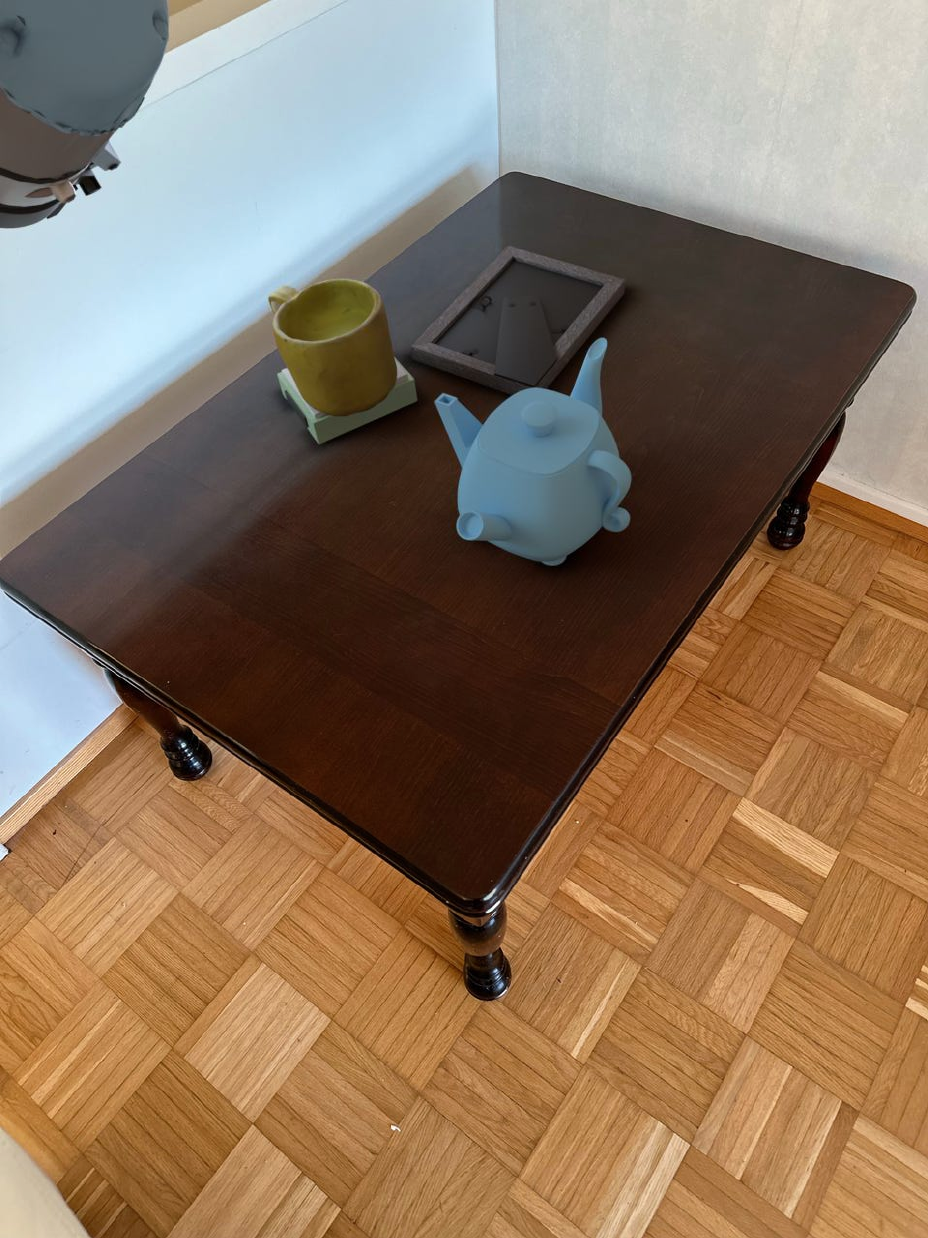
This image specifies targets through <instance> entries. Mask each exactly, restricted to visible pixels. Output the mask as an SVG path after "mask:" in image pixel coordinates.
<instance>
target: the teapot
mask: <svg viewBox="0 0 928 1238" xmlns="http://www.w3.org/2000/svg"><path fill="white" fill-rule="evenodd" d="M607 348H608V340H607V338H605V337H599V338H597V339H596V340H595V341H594V342H593V343H592V344H591V345H590V346H589V348H588V350H587V351H586V355H585V357H584V360H583V362H582V365H581V368H580V371H579V373H578V376H577V379H576V381H575V383H574V387H573V388H572V391H571V394H570V395H567V394H564V393H561V392H558V391H555V390H551V389H548V388H547V389H543V388H536V387H535V388H529V389H525V390H522V391H520V392H518V393H516V394H514V395H510V396H509V397H508V398H507V399H505V400H504V401H503V402H501V404H500V405H498V406H497V407H496V408H495V409H494V410H493V411H492V412H491V414H490V415H489V416H488V418H486V421H484V423H483V424H482V423H481V422H480V420H478V419H477V418H476V416H474V415H473V413H471V412H470V411H469V410H468V409H467V408H466V407H465V406H464V405H463V404H462V403H461V402H460V401H459V399H458V397H456V396H453V395H450V394H447V393H444V392H442V393H441V394H440V395H439V396H438V397H437V398H436V399H435V400H434V401H433V402H434V405H435V407H436V410H437V412H438V414H439V416H440V419H441V421H442V424H443V427H444V429H445V431H446V433H447V436H448V438H449V440H450V442H451V445H452V447H453V449H454V452H455V454H456V456H457V459H458V461H459V464H460V466H461V473H460V477H459V481H458V487H457V510H458V513H459V516H458V517H457V519H456V531H457V534H458V535H459V536H460V537H461V538H462V539H463V540H467V541H484V542H485V541H487V542H488V543H490V544H492V545H494V546H496V547H498V548H499V549H502V550H504V551H506V552H508V553H511V554H514V555H515V556H519V557H521V558H525V559H527V560H530V561H534V562H541V563H542V564H544V565H546V566H553V567H554V566H558V565H560V564H562V563H564V562H565V560H566V559H567V556H568V555H570V554H572V553H574V552H575V551H576V550H578V549H580V547H582V546H583V545H584V544H586V543H587V542H588V541H589V540H591V538H593V537H594V536H595V535H596V534H597V533H598V532H599V531H600V530H601V529H602V528H604V529H605V530H606V531H608V532H611V533H612V532H614V533H619V532H622V531H625V530H626V529H627V527H628V526H629V525H630V522H631V514H630V513H629V512H628V510H627V509H625V508H623V507H619V505H620V504H621V502H622V501H623V500H624V499H625V497H626V496H627V494H628V492H629V490H630V488H631V486H632V485H631V484H632V473H631V470H630V468H629V466H628V465H627V464H626V462H625V461H624V460H623V459H621V458H620V453H619V449H618V446H617V443H616V440H615V438H614V436H613V434H612V432H611V430H610V428H609V426H608V424H607V422H606V421H605V419H604V418H603V400H602V391H601V390H602V389H601V370H602V364H603V361H604V357H605V355H606V352H607Z"/></svg>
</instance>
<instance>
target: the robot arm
mask: <svg viewBox="0 0 928 1238" xmlns="http://www.w3.org/2000/svg"><path fill="white" fill-rule="evenodd" d="M169 8H170V7H169V2H168V0H0V229H21V228H26V227H29V226H33V225H35V224H38V223H40V222H41V221H43V220H45V219H46V220H49V219H52V218H54V217H56V216H58V214H59V213H60V212H61V211H62V209H64V207H65V206H66V205H67V204H69V203H71V202H73V201H74V200H75V198H76V197H77V191H78V190H79V187H80V188H81V191H82V192H83V194H84V196H85V197H89V196H90V195H92V194H96V193H97V192H99V191H100V190H101V189H102V188H103V187H102V185H101V183H100V182H99V181H98V179H97V177H96V175H95V173H94V172H93V169H95V168H97V167H98V168H100V169H101V170H103V171H104V172H107V171H114V170H116V169H117V168H118V167H120V165H121V164H122V161H121V159H120V158H119V156H118V154H117V152H116V151H115V149H114V147H113V145H112V144H111V142H110V139H111V138H112V137H113V136H114V135H115V133H116V132H117V131H118V130H119V129H122V128H123V127H124V126H125V125H126V124H127V123H129V122H130V121H131V120H132V119H133V118H134V117H135V116H136V114H137V113H138V111H139V110H140V108H141V106H142V105H143V103H144V101H145V99H146V97H145V96H146V94H147V92H148V90H149V89H150V87H151V85H152V83H153V81H154V79H155V77H156V74H157V73H158V71H159V69H160V66H161V64H162V62H163V60H164V57H165V54H166V50H167V48H168V47H167V46H168V43H169V41H170V10H169ZM77 185H79V187H78V186H77Z"/></svg>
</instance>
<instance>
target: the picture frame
mask: <svg viewBox="0 0 928 1238" xmlns="http://www.w3.org/2000/svg"><path fill="white" fill-rule="evenodd" d="M625 289H626V279H625V278H621V277H618V276H616V275H615V276H614V275H611V274H608V273H605V272H602V271H601V272H600V271H598V270H594V269H590V268H587V267H583V266H580V265H577V264H573V263H569V262H566V261H562V260H559V259H555V258H553V257H549V256H545V255H542V254H539V253H535V252H532V251H528V250H525V249H521V248H518V247H515V246H511V245H507V246H506V247H504V249H503V250H502V251H501V252H500V253H498V255H497V256H496V257H495V258H494V259H493V260H492V261H491V262H490V263H489V264H488V265H487V267H485V268H484V269H483V271H482V272H480V274H479V275H478V276H477V277H476V278H474V280H473V281H472V282H471V283H470V284H469V285H468V286H467V287H466V288H465V289H464V290H463V291H462V292H461V293H460V294H459V296H457V297H456V298H455V300H453V302H452V303H450V305H449V306H447V308H446V309H445V310H444V311H443V312H442V313H441V314H440V315H439V316H438V317H437V318H436V319H435V320H434V321H433V322H432V323H431V324H430V325H429V326H428V327H427V328H426V329H425V330H424V331H423V333H422V334H421V335H420V336H419V337H417V339H415V341H414V342H413V343H412V344H411V345H410V351H411V358H412V361H415V362H418V363H421V364H424V365H427V366H429V367H432V368H435V369H438V370H441V371H443V372H446V373H449V374H452V375H455V376H457V377H461V378H463V379H465V380H468V381H471V382H474V383H476V384H480V385H482V386H485V387H488V388H491V389H494V390H496V391H499V392H501V393H505V394H508V395H509V396H513V395H514V394H516V393H518V392H520V391H522V390H525V389H529V388H535V387H536V388H543V389H548V388H549V387H550V385H552V383H553V382H554V381H555V380H556V378H557V376H558V375H559V374H560V373H561V372H562V371H563V369H564V368H565V367H566V366H567V364H568V363H569V362H570V361H571V360H572V358H573V357H574V356H575V355H576V354H577V352H578V351H579V350H580V348H581V347H582V346H583V345H584V344H585V343H586V341H587V340H588V339H589V337H590V336H591V335H592V334H593V333H594V331H595V330H596V329H597V328H598V327H599V325H600V324H601V323H602V322H603V320H604V319H605V318H606V317H607V316H608V314H609V313H610V312H611V310H612V309H613V308H614V307H615V306H616V304H617V303H618V302H619V301H620V299H621V298H622V297H623V296H624V294H625Z"/></svg>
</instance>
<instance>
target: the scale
mask: <svg viewBox="0 0 928 1238" xmlns="http://www.w3.org/2000/svg"><path fill="white" fill-rule="evenodd" d="M394 358H395V361H396V365H397V380H396V384H395V386H394V388H393V389H392V390H391V391H390V392H389V394H388V396H387V397H386V398H385V399H384V400H383V401H382V402H380V403H378V404H377V405H376V406H375V407H373V408H371V409H370V410H367V411H364V412H359V413H354V414H351V415H348V416H331V415H327V414H324V413H321V412H319V411H317V410H315V409H314V408H312V407H311V406H310V405H309V404H308V403H307V402H306V401H305V400H304V399H303V398H302V396H301V394H300V392H299V390H298V389H297V387H296V384H295V382H294V381H293V379H292V377H291V374H290V372H289V370H288V368H287V367H285V368H283V369H281V372H278V373H277V374H276V375H277V378H278V382H279V386H280V389H281V392H282V396H283V397H284V398H285V399H286V401H287V403H288V404H289V405H290V406H291V408H292V409H293V411H294V412H295V414H296V415H297V417H298V418H299V419H300V421H301V422H302V423H303V425H304V426H305V427H306V429H307V430H308V432H309V433H310V434H311V435H312V438H314V440H315V441H316V443H317V444H318V445H322V444H324V443H327V442H328V441H331V440H333V439H335V438H337V437H340V436H341V435H344V434H346V433H348V432H351V431H353V430H355V429H358V428H359V427H362V426H364V425H366V424H369V423H371V422H373V421H375V420H377V419H380V418H382V417H384V416H386V415H389V414H391V413H393V412H396V411H398V410H400V409H402V408H405V407H407V406H409V405H412V404H414V403H416V402H417V401H418V396H417V389H416V382H415V379H414V377H413V376H412V375H411V374H410V373H409V372H408V370H407V369H406V368H405V367H404V366H403V364H402V363H401V362H400V361H399V360H398V359H397V358H396V357H395V356H394Z"/></svg>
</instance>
